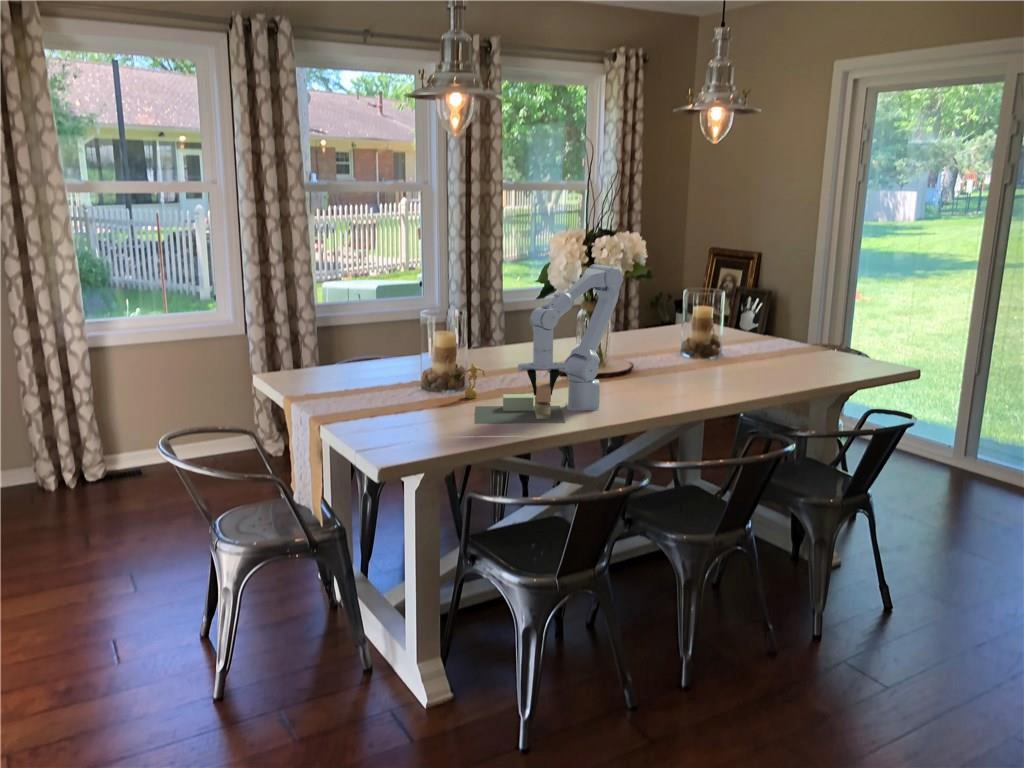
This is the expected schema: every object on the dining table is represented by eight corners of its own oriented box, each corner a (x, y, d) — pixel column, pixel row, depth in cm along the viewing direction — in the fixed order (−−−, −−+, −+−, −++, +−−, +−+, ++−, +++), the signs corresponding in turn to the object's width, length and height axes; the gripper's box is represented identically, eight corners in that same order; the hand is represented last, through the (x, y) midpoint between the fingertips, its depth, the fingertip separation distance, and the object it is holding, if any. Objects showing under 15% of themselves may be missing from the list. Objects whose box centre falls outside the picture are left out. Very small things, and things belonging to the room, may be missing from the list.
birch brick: (548, 409, 251) (548, 397, 250) (550, 418, 242) (550, 405, 241) (534, 409, 251) (534, 397, 250) (536, 418, 242) (536, 405, 241)
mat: (560, 406, 256) (560, 405, 256) (565, 424, 238) (565, 422, 238) (475, 407, 255) (475, 406, 255) (474, 424, 237) (474, 423, 237)
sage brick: (532, 406, 254) (532, 394, 253) (533, 410, 250) (533, 397, 249) (503, 407, 254) (503, 394, 253) (503, 410, 250) (503, 397, 249)
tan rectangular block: (548, 393, 250) (548, 380, 249) (550, 401, 241) (550, 388, 240) (535, 393, 250) (535, 381, 249) (536, 402, 241) (537, 388, 240)
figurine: (480, 396, 268) (480, 359, 265) (488, 400, 263) (488, 363, 260) (456, 399, 264) (456, 362, 261) (464, 403, 259) (463, 366, 256)
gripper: (518, 352, 238) (518, 398, 241) (569, 352, 238) (568, 397, 241) (517, 347, 245) (517, 392, 248) (567, 347, 245) (566, 391, 248)
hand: (542, 394), depth 245 cm, fingers closed on tan rectangular block, 4 cm apart
